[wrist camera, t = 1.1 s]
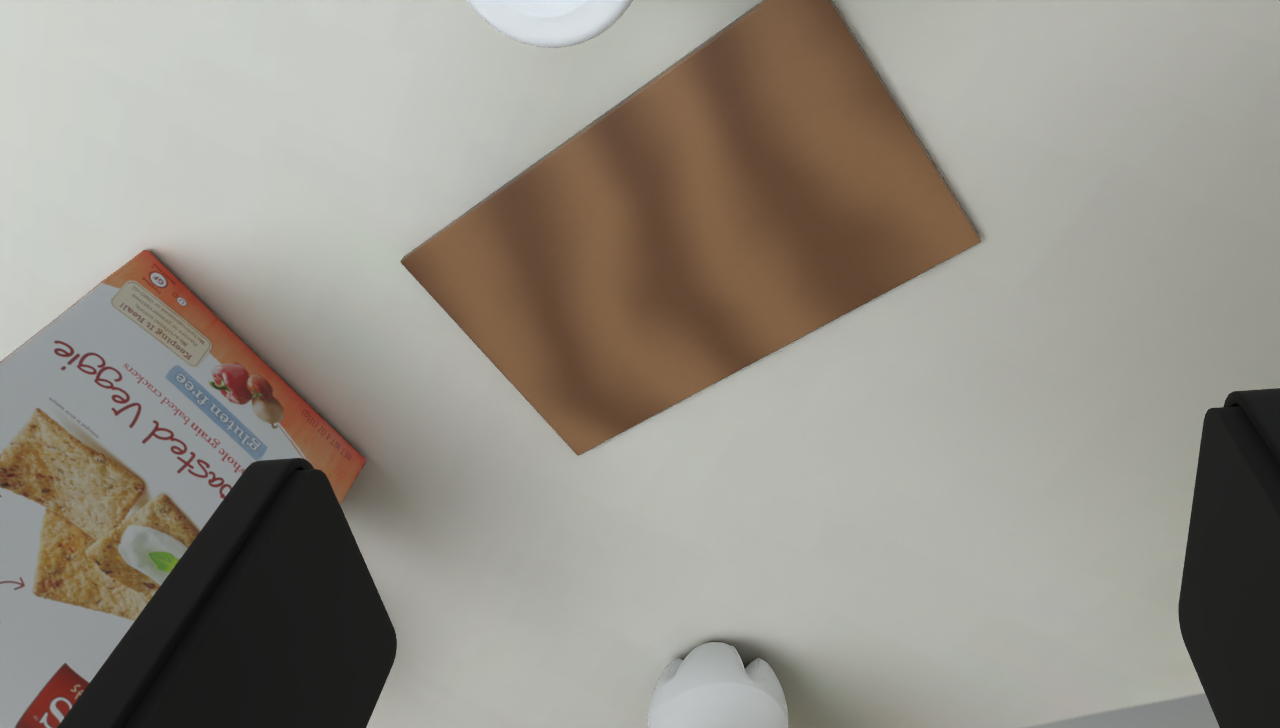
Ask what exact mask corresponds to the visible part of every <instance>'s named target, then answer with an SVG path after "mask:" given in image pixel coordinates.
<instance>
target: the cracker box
mask: <svg viewBox="0 0 1280 728" xmlns="http://www.w3.org/2000/svg"><path fill="white" fill-rule="evenodd" d="M290 458H303V459H306V460H307V461H308V462H310V463H311V464H312V466H313V468H314V469H318V470H322V471H323V472H324V473H325V474H326V476H327V478H328V479H329V481H330V484H331V486H332V488H333V491H334V493H335V495H336V497H337V500H338V502H339V504H341V503H342V501H343V500H344V498H345V496H346V495H347V493H348V491H349V489H350V488H351V486H352V484H353V482H354V481H355V479H356V477H357V476H358V474H359V472H360V471H361V469H362V468H363V466H364V464H365V462H366V458H365V457H363V456H362V455H361V454H360V453H359V452H358V451H357V450H356V449H354V448H353V447H352V446H351V445H350V444H349V443H348V442H347V441H346V440H345V439H344V438H343V437H342V436H341V435H340V434H339V433H338V432H337V431H336V430H335V429H333V428H332V427H331V426H330V425H329V424H328V423H327V422H326V421H325V420H324V419H323V418H322V417H321V416H320V415H319V414H318V413H317V412H316V411H315V410H314V409H312V408H311V407H310V406H309V405H308V404H307V403H306V402H305V401H304V400H303V399H302V398H301V397H300V396H299V395H298V394H297V393H296V392H295V391H294V390H293V389H292V388H291V387H290V386H289V385H288V384H287V383H286V382H285V381H284V380H283V379H282V378H281V377H279V376H278V375H277V374H276V373H275V372H274V371H273V370H272V369H271V368H270V367H269V366H268V365H267V364H266V363H265V362H264V361H263V360H262V359H261V358H259V357H258V356H257V355H256V354H255V353H254V352H253V351H252V350H251V348H249V347H248V346H247V345H246V344H245V343H244V342H243V341H242V340H241V339H240V338H239V337H238V336H237V335H236V334H235V333H233V332H232V331H231V330H230V329H229V328H228V327H227V326H226V325H225V324H224V323H223V322H222V321H221V320H220V319H219V318H218V317H217V316H216V315H215V314H214V313H213V312H212V311H211V310H210V309H209V308H208V307H206V306H205V305H204V304H203V303H202V302H201V301H200V300H199V299H198V298H197V297H196V296H195V295H194V294H193V293H192V292H191V291H190V290H189V289H188V288H187V287H186V286H185V285H184V284H183V283H182V282H181V281H180V280H179V279H177V278H176V277H175V276H174V275H173V274H172V273H171V272H170V271H169V270H168V269H167V268H166V267H165V266H164V265H163V264H162V263H161V262H160V261H159V260H158V259H157V258H156V257H155V256H154V255H153V254H152V253H151V252H149V251H148V250H143V251H142V252H141V253H139V254H138V255H137V256H136V257H134V258H133V259H132V260H130V261H129V262H128V263H126V264H125V265H124V266H122V267H121V268H120V269H118V270H117V271H116V272H114V273H113V274H111V275H110V276H109V277H107V278H106V279H104V280H103V281H102V282H101V283H99V284H98V285H97V286H96V287H94V288H93V289H92V290H91V291H89V292H88V293H87V294H86V295H84V296H83V297H82V298H81V299H80V300H78V301H77V302H76V303H75V304H73V305H72V306H71V307H70V308H68V309H67V310H66V311H64V312H63V313H62V314H61V315H59V316H58V317H57V318H56V319H54V320H53V321H52V322H50V323H49V324H48V325H47V326H45V327H44V328H43V329H42V330H40V331H39V332H38V333H36V334H35V335H34V336H33V337H31V338H30V339H29V340H27V341H26V342H25V343H24V344H22V345H21V346H20V347H19V348H17V349H16V350H15V351H13V352H12V353H11V354H10V355H8V356H7V357H6V358H5V359H3V360H2V361H1V362H0V728H57V727H58V726H59V724H60V723H61V722H62V720H63V719H64V717H65V716H66V715H67V713H68V712H69V711H70V709H71V708H72V706H73V705H74V704H75V702H76V701H77V700H78V698H79V697H80V695H81V694H82V693H83V691H84V690H85V689H86V687H87V686H88V685H89V683H90V682H91V680H92V679H93V678H94V676H95V675H96V674H97V672H98V671H99V669H100V668H101V667H102V665H103V664H104V663H105V661H106V660H107V658H108V657H109V656H110V654H111V653H112V652H113V650H114V649H115V648H116V646H117V645H118V643H119V642H120V641H121V639H122V638H123V637H124V635H125V634H126V632H127V631H128V630H129V628H130V627H131V626H132V624H133V623H134V621H135V620H136V619H137V617H138V616H139V615H140V613H141V612H142V611H143V609H144V608H145V606H146V605H147V604H148V602H149V601H150V600H151V598H152V597H153V595H154V594H155V593H156V591H157V590H158V589H159V587H160V586H161V584H162V583H163V582H164V580H165V579H166V578H167V576H168V575H169V574H170V572H171V571H172V569H173V568H174V567H175V565H176V564H177V563H178V561H179V560H180V558H181V557H182V556H183V554H184V553H185V552H186V550H187V549H188V547H189V546H190V545H191V543H192V542H193V541H194V539H195V538H196V537H197V535H198V534H199V532H200V531H201V530H202V528H203V527H204V526H205V524H206V523H207V521H208V520H209V519H210V517H211V516H212V515H213V513H214V512H215V510H216V509H217V508H218V506H219V505H220V504H221V502H222V501H223V500H224V498H225V497H226V495H227V494H228V493H229V491H230V490H231V489H232V487H233V486H234V484H235V483H236V482H237V480H238V479H239V478H240V476H241V475H242V473H243V472H244V471H245V469H246V468H247V467H248V466H249V465H250V464H251V463H253V462H256V461H261V460H276V459H290Z"/></svg>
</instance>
